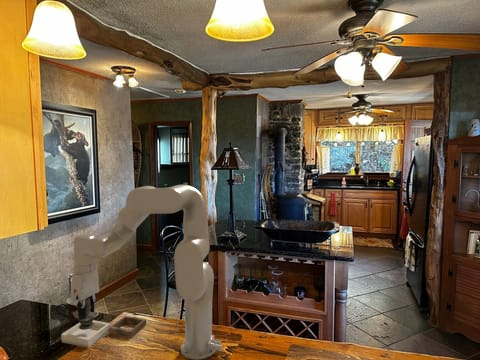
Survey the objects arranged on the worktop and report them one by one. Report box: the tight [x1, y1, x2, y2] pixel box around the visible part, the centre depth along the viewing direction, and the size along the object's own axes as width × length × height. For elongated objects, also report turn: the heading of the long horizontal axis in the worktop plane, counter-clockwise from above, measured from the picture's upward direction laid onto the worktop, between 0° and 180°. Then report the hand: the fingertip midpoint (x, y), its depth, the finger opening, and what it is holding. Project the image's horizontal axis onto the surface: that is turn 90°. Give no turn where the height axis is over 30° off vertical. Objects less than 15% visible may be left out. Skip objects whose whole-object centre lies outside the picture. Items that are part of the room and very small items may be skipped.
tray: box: [60, 320, 112, 349], centre depth 124 cm, size 12×12×3 cm
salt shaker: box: [78, 298, 96, 330], centre depth 123 cm, size 6×6×12 cm
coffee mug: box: [55, 296, 82, 328], centre depth 134 cm, size 12×9×10 cm
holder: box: [108, 315, 147, 339], centre depth 129 cm, size 10×10×2 cm
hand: (86, 313), depth 123 cm, fingers closed on salt shaker, 3 cm apart
